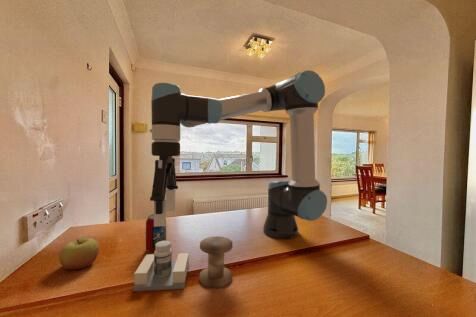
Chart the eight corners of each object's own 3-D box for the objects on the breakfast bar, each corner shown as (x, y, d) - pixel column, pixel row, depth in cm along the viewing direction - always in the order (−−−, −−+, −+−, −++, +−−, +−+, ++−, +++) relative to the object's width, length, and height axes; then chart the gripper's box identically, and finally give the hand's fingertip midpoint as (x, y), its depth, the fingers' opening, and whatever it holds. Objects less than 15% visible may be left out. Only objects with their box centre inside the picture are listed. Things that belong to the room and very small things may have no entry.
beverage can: (159, 254, 73) (159, 219, 72) (141, 252, 74) (141, 218, 74) (169, 246, 79) (169, 214, 79) (153, 244, 81) (153, 212, 80)
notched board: (188, 264, 67) (189, 251, 67) (183, 288, 55) (183, 273, 55) (147, 265, 66) (147, 252, 66) (132, 291, 54) (133, 275, 54)
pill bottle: (158, 267, 63) (158, 239, 63) (174, 268, 63) (174, 240, 63) (151, 277, 58) (151, 246, 58) (168, 278, 58) (168, 247, 58)
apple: (65, 260, 68) (65, 235, 68) (101, 255, 72) (101, 231, 72) (53, 277, 59) (53, 248, 59) (95, 270, 63) (95, 243, 63)
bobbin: (230, 268, 65) (231, 236, 65) (233, 287, 56) (233, 249, 56) (200, 269, 64) (200, 236, 64) (198, 289, 55) (198, 250, 55)
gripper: (162, 142, 71) (162, 206, 72) (136, 139, 47) (136, 235, 48) (185, 143, 72) (185, 205, 73) (171, 139, 48) (171, 234, 48)
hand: (165, 217), depth 60 cm, fingers open, 13 cm apart
